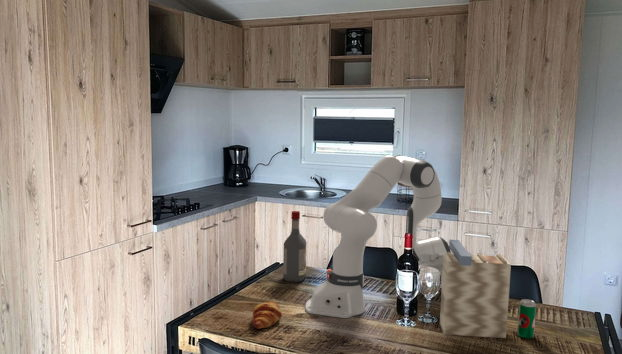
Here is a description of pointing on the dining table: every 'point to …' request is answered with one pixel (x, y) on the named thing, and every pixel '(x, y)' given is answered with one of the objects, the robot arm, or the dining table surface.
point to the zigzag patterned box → (475, 296)
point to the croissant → (266, 314)
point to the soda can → (526, 319)
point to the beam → (460, 252)
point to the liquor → (294, 253)
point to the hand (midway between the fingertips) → (449, 255)
